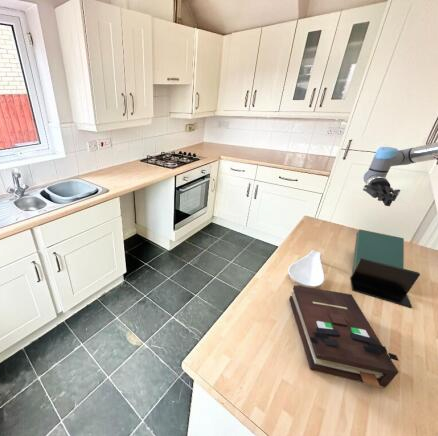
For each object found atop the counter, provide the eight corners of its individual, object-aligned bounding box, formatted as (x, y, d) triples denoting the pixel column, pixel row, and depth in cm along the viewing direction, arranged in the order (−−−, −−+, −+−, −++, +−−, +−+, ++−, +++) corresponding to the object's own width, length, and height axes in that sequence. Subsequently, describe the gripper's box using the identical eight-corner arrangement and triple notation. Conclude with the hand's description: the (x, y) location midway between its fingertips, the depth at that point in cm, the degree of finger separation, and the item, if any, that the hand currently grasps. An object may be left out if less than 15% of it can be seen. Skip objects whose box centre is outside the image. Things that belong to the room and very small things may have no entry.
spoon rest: (317, 297, 86) (323, 282, 83) (281, 282, 93) (286, 268, 90) (329, 265, 102) (335, 251, 98) (298, 254, 109) (302, 240, 105)
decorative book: (353, 288, 80) (413, 382, 55) (345, 304, 84) (397, 399, 58) (289, 278, 85) (317, 360, 59) (283, 293, 88) (307, 377, 63)
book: (399, 241, 98) (403, 237, 96) (398, 286, 90) (403, 283, 88) (356, 232, 105) (359, 228, 103) (352, 273, 97) (355, 271, 94)
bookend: (404, 293, 87) (419, 272, 82) (411, 308, 82) (426, 286, 77) (349, 278, 95) (360, 257, 90) (352, 290, 89) (363, 269, 84)
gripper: (392, 194, 116) (405, 214, 98) (357, 189, 122) (365, 207, 104) (399, 179, 112) (415, 197, 95) (364, 175, 118) (372, 191, 101)
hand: (388, 203), depth 99 cm, fingers closed
